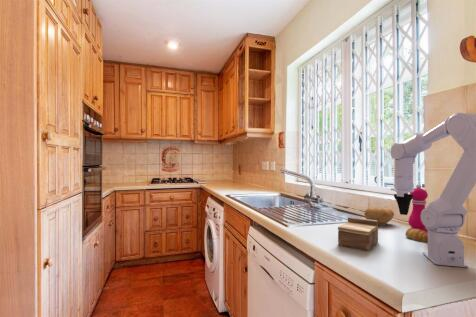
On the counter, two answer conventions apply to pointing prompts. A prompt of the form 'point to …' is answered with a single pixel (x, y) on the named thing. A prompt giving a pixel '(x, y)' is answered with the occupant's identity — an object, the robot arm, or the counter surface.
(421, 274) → the counter surface
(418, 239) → the pastry
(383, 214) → the potato
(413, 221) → the pepper mill
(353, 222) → the lid
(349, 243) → the keepsake box
